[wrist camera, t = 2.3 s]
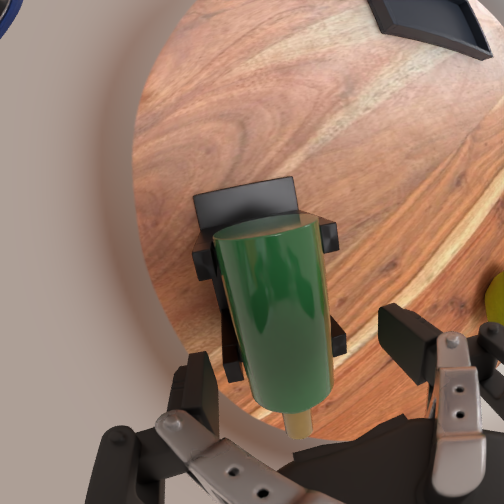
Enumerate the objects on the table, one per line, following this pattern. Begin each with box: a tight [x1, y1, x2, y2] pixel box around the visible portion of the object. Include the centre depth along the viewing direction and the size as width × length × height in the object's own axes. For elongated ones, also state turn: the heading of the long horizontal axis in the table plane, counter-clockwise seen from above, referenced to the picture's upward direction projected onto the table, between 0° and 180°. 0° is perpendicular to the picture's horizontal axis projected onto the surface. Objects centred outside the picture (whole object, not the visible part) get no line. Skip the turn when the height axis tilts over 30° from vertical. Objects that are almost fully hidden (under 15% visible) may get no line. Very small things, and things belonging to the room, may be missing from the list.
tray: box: [368, 0, 493, 61], centre depth 18 cm, size 19×10×3 cm, turn 101°
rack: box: [192, 176, 347, 383], centre depth 20 cm, size 14×8×9 cm, turn 11°
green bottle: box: [213, 214, 334, 440], centre depth 16 cm, size 15×5×5 cm, turn 11°
